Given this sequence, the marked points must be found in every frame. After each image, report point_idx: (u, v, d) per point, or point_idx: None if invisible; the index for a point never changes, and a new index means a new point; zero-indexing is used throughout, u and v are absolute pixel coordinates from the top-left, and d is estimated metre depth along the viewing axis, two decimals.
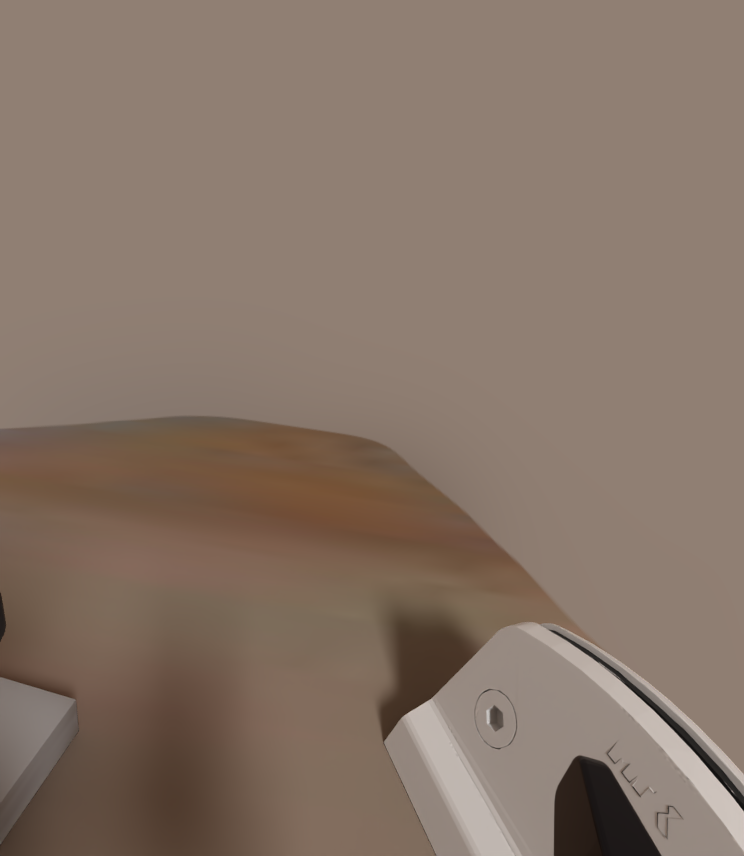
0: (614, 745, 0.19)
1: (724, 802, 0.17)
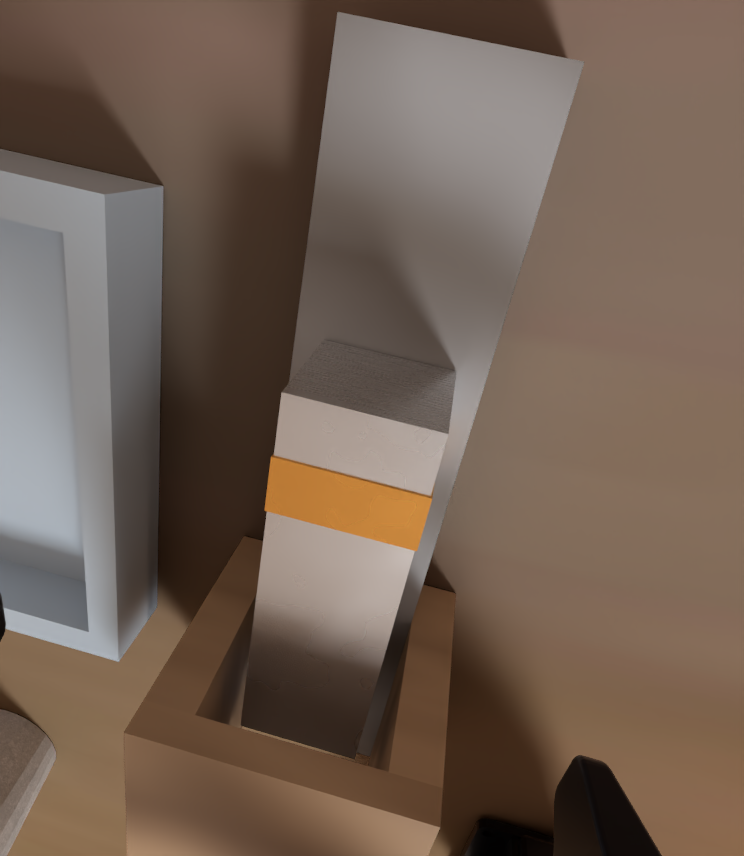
0: None
1: None
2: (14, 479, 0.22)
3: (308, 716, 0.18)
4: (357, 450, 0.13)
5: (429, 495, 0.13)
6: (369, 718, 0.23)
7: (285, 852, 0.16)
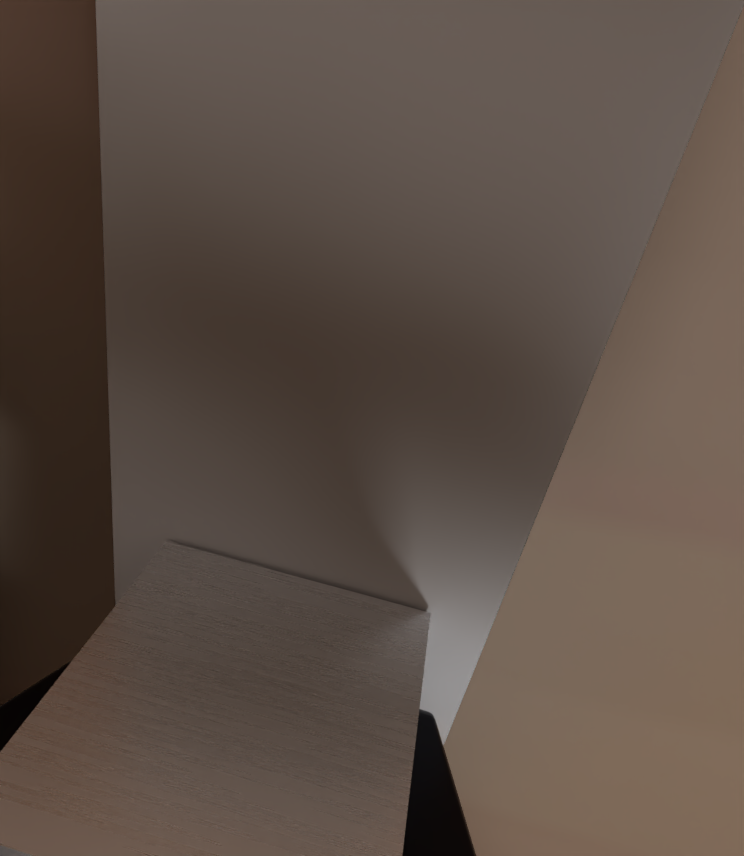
0: None
1: None
2: None
3: None
4: None
5: None
6: None
7: None
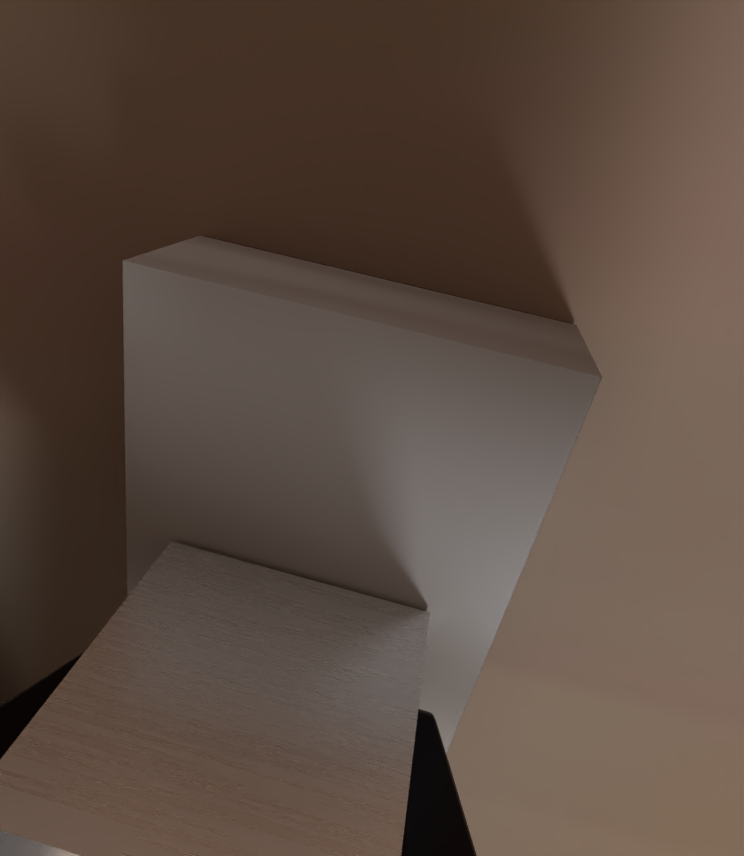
0: None
1: None
2: None
3: None
4: None
5: None
6: None
7: None
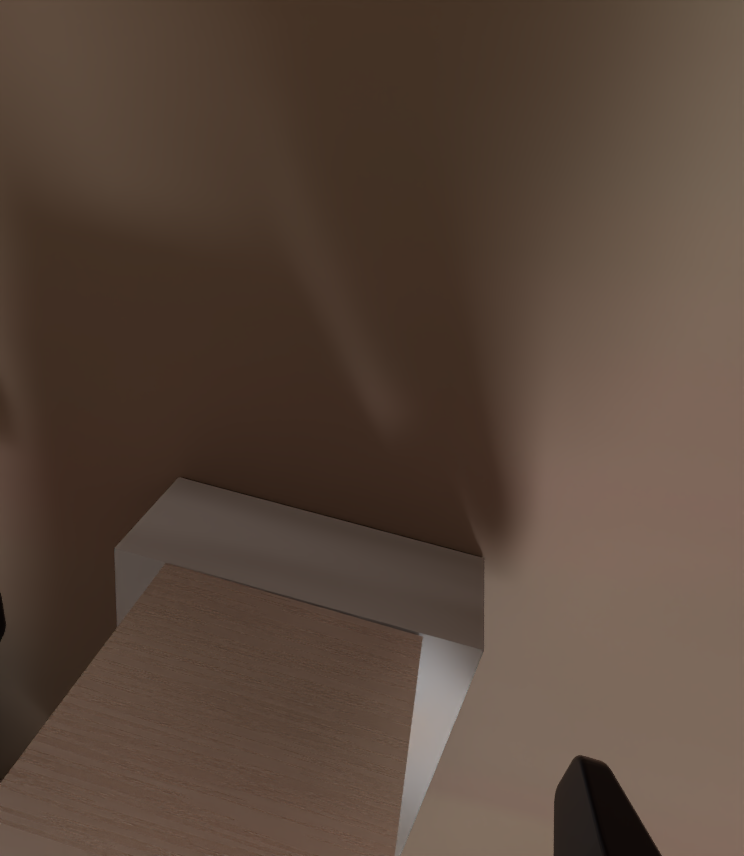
0: None
1: None
2: None
3: None
4: None
5: None
6: None
7: None
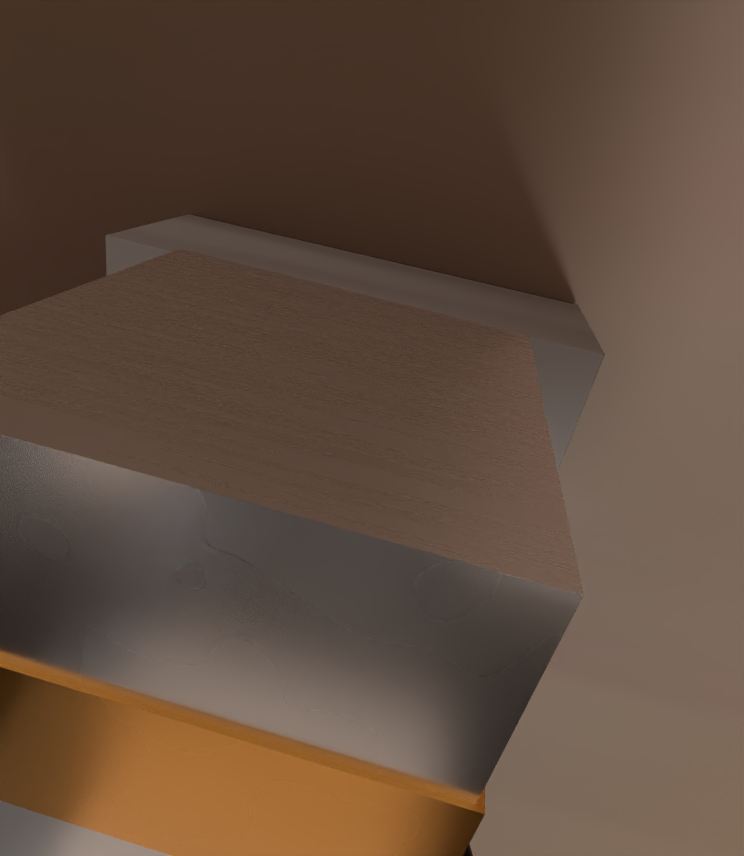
0: None
1: None
2: None
3: None
4: (179, 628, 0.03)
5: (473, 800, 0.03)
6: None
7: None
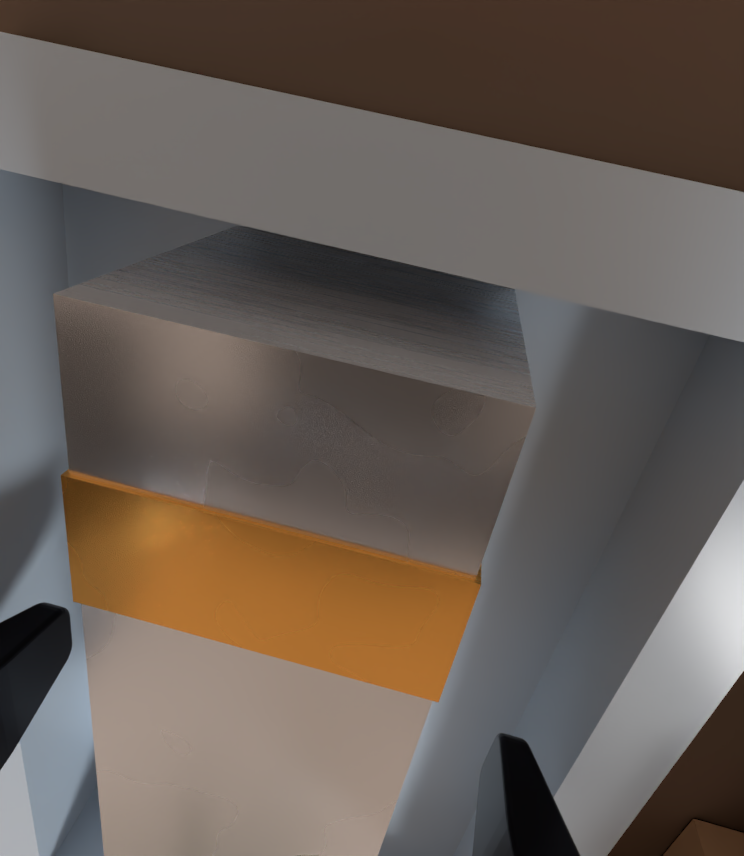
0: None
1: None
2: None
3: None
4: (277, 457, 0.05)
5: (473, 575, 0.05)
6: None
7: None
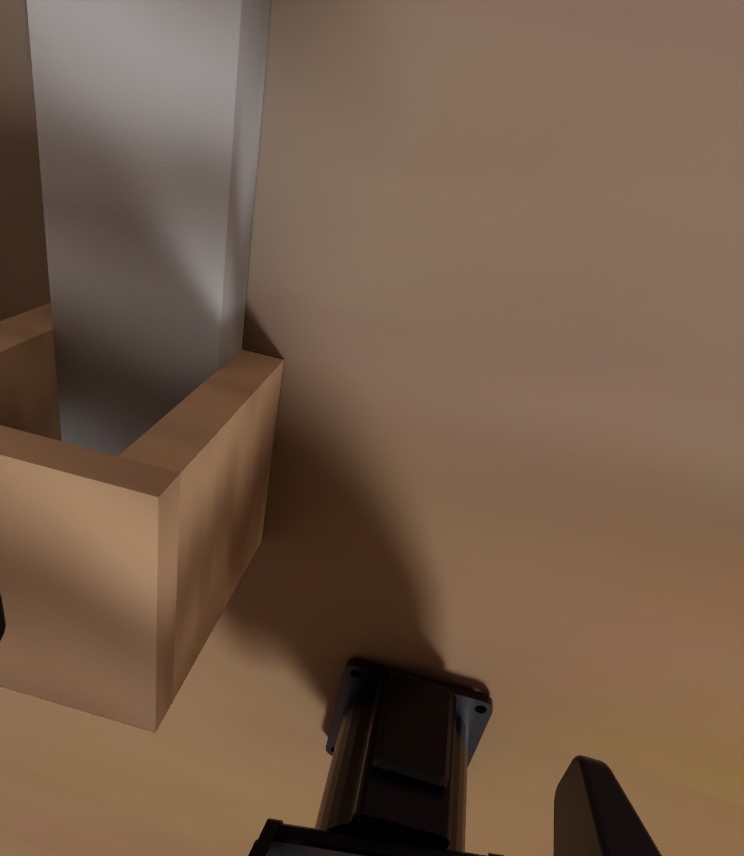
0: None
1: None
2: None
3: None
4: None
5: None
6: None
7: (12, 569, 0.14)
